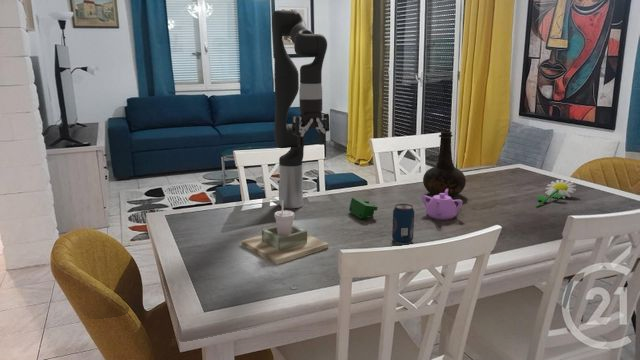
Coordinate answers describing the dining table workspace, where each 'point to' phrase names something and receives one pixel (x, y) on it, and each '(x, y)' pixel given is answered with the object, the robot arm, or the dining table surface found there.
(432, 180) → the glass bottle
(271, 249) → the collar stand
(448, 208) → the teapot
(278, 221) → the smoothie
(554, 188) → the decorative flower
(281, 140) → the robot arm
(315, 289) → the dining table surface
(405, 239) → the soda can
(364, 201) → the toy dumpster
